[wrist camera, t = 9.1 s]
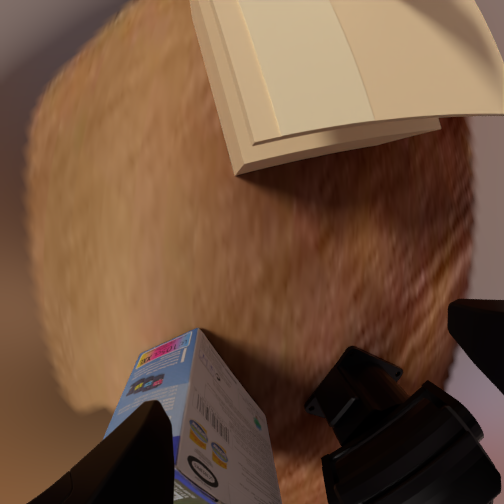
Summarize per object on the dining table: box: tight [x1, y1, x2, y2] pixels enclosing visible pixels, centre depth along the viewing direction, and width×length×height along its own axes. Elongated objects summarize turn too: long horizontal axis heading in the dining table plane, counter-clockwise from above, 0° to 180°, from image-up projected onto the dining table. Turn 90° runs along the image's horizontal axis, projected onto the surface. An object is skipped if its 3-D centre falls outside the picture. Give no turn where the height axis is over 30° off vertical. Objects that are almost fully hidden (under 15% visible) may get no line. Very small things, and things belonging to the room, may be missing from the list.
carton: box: [190, 0, 441, 176], centre depth 14 cm, size 12×10×7 cm
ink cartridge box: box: [103, 328, 282, 504], centre depth 14 cm, size 10×6×14 cm, turn 29°
